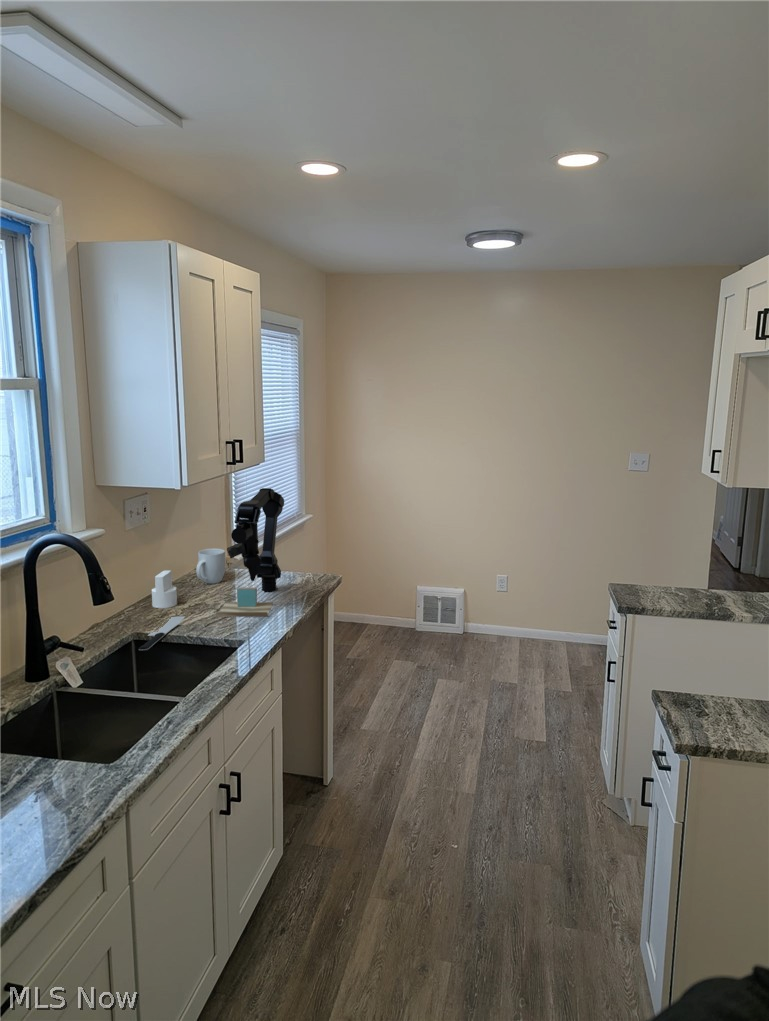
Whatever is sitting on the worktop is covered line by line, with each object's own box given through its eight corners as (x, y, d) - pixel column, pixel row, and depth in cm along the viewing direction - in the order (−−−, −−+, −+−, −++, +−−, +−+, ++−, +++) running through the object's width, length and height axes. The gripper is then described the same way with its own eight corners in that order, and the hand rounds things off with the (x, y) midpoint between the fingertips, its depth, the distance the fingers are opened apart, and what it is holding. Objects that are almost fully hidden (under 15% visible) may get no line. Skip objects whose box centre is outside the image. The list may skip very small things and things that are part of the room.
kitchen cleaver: (166, 615, 245) (192, 613, 243) (167, 619, 245) (193, 618, 243) (121, 648, 214) (150, 646, 213) (121, 653, 215) (151, 652, 213)
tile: (238, 605, 254) (237, 587, 253) (257, 605, 255) (256, 587, 253) (237, 606, 253) (236, 588, 252) (256, 607, 253) (255, 588, 252)
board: (225, 604, 258) (225, 598, 258) (273, 604, 259) (273, 598, 258) (216, 619, 243) (216, 612, 242) (267, 619, 243) (266, 612, 242)
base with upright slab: (172, 608, 254) (170, 577, 251) (148, 607, 254) (146, 576, 252) (180, 601, 262) (179, 570, 260) (157, 600, 263) (156, 570, 261)
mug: (209, 589, 278) (208, 558, 275) (187, 585, 282) (186, 555, 279) (231, 579, 291) (230, 550, 289) (210, 576, 295) (209, 547, 293)
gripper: (226, 532, 259) (228, 571, 262) (228, 544, 241) (230, 586, 245) (256, 530, 262) (257, 569, 265) (260, 542, 244) (262, 584, 247)
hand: (251, 577), depth 255 cm, fingers open, 9 cm apart
